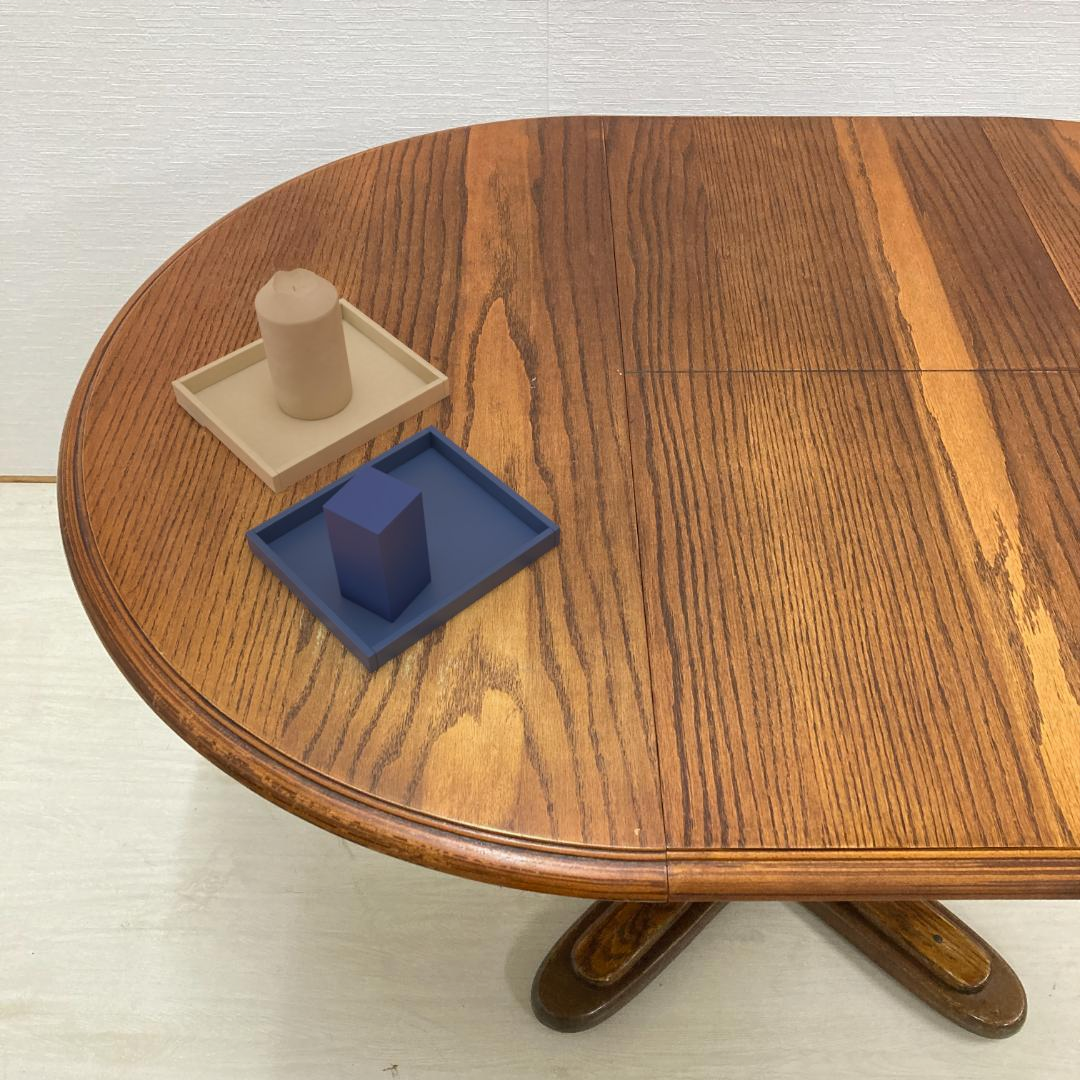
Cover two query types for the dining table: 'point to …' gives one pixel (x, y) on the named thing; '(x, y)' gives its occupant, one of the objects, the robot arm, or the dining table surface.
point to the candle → (304, 344)
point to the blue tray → (452, 537)
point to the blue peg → (379, 542)
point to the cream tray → (307, 445)
